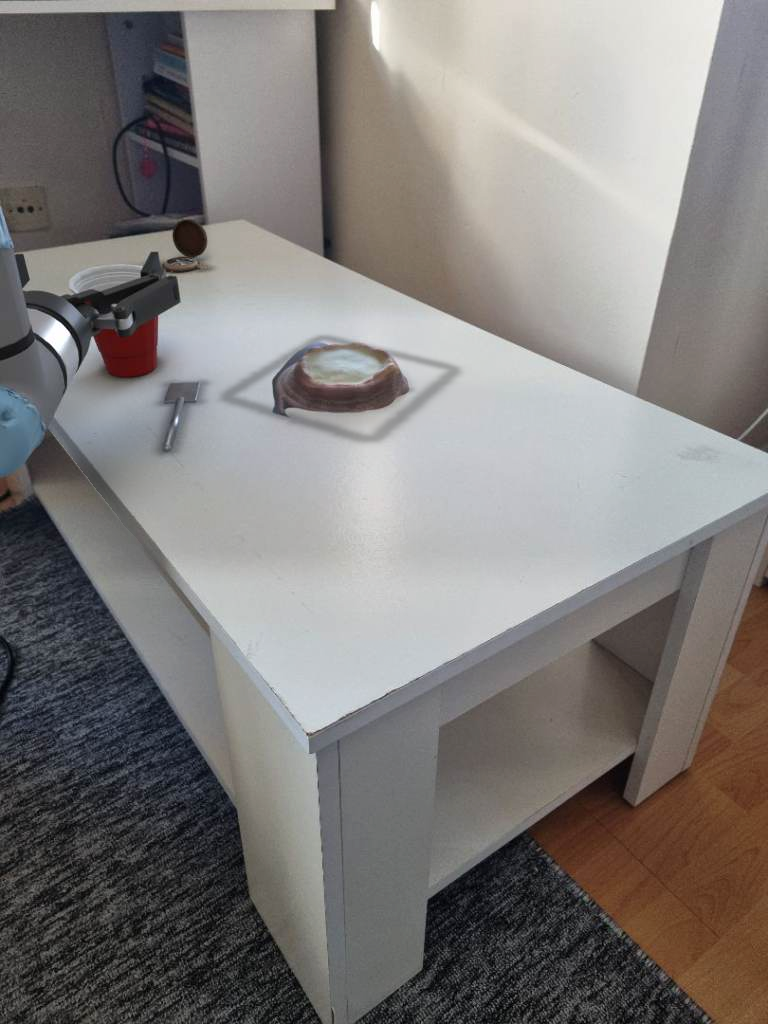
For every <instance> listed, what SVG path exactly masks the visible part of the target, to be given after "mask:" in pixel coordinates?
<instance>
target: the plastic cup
mask: <svg viewBox="0 0 768 1024" xmlns="http://www.w3.org/2000/svg"><path fill="white" fill-rule="evenodd" d="M143 266H144V265H137V264H126V263H123V264H121V263H120V264H105V265H99V266H95V267H89V268H86V269H84V270H81V271H79V272H77V273H75V274H74V275H73V276H72V277H71V278H70V279H69V280H68V287H69V290H70V292H71V293H73V295H74V294H77V293H80V292H83V291H86V290H89V289H94V290H97V291H103V290H106V289H109V288H112V287H115V286H117V285H120V284H123V283H126V282H129V281H132V280H135V279H138V278H141V274H140V272H141V270H142V268H143ZM86 303H87V304H89V305H90V306H91V303H90V301H87V302H86ZM92 338H93V339H94V342H95V344H96V348H97V350H98V352H99V353H100V356H101V358H102V360H103V363H104V365H105V368H106V370H107V372H108V373H109V374H110V375H111V376H113V377H117V378H121V379H131V378H139V377H143V376H146V375H149V374H150V373H152V372H154V371H155V369H156V368H157V366H158V346H159V315H158V316H156V317H155V318H153V319H151V320H150V321H148V322H146V323H144V324H143V325H141V326H139V327H138V328H136V330H135V331H134V332H133V334H132V335H131V336H129V337H126V338H121V337H118V334H117V331H116V329H101V331H100V332H99V333H98V334H96V335H94V336H93V337H92Z"/></svg>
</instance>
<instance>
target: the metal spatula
mask: <svg viewBox="0 0 768 1024" xmlns="http://www.w3.org/2000/svg"><path fill="white" fill-rule="evenodd" d="M200 388H201V381H197V382H196V381H193V382H192V381H191V382H170V383H169V386H168V389H167V392H166V395H165V398H164V401H163V402H164V404H174V407H173V410H172V414H171V416H170V417H171V418H170V421H169V425H168V428H167V430H166V431H167V432H166V435H165V438H164V442H163V445H162V449H161V450H162V452H165V453H168V452H169V453H170V452H171V451H173V448H174V444H175V440H176V437H177V434H178V433H177V432H178V429H179V425H180V421H181V417H182V414H183V410H184V407H185V404H192V403H193V404H195V403H197V400H198V397H199V394H200V393H199V392H200Z"/></svg>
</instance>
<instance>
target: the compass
mask: <svg viewBox="0 0 768 1024" xmlns="http://www.w3.org/2000/svg"><path fill="white" fill-rule="evenodd" d="M171 237H172V242H173V244H174V247H175V248H176V250H177V251H178V252H179V253H180V254H181V255H183V256H175V257H170V258H167V259H166V260H165V262H164V263H162V264H161V265H162V267H161V268H164V269H165V272H167V273H170V274H183V273H190V272H193V271H197V270H198V269H199V270H206V269H209V268H210V266H209V264H201V263H200V261H199V260H197V259H196V257H199V256H201V255H203V254H204V252H205V251H206V249H207V246H208V235H207V232H206V230H205V228H204V227H203V225H202V224H201V223H200V222H199V221H197V220H196V219H193V218H190V217H187V218H183V219H181V220H179V221H177V223H176V224H174V227H173V229H172V236H171ZM204 266H205V267H204Z"/></svg>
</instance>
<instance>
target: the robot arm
mask: <svg viewBox="0 0 768 1024" xmlns="http://www.w3.org/2000/svg"><path fill="white" fill-rule="evenodd" d="M14 248H15V246H14V243H13V240H12V238H11V236H10V232H9V228H8V225H7V222H6V220H5V216H4V213H3V210H2V206H1V205H0V479H2V478H5V477H7V476H10V475H12V474H14V473H15V472H17V471H18V470H19V469H20V468H22V467H23V465H24V464H25V463H26V462H27V461H28V459H29V457H30V456H31V455H32V453H33V452H34V451H35V449H37V448H39V446H40V445H41V444H42V442H43V440H44V436H45V434H46V432H47V430H48V428H49V425H50V424H51V422H52V419H53V418H54V416H55V414H56V412H57V410H58V408H59V406H60V404H61V402H62V400H63V398H64V396H65V394H66V392H67V391H68V389H69V387H70V385H71V383H72V382H73V379H74V377H75V375H76V374H77V372H78V371H79V369H80V367H81V366H82V364H83V362H84V360H85V358H86V356H87V354H88V351H89V349H90V346H91V341H92V338H94V337H93V336H94V335H96V334H98V333H99V332H100V331H101V329H116V331H117V334H118V337H121V338H126V337H129V336H131V335H132V334H133V332H134V331H135V330H136V328H138V327H139V326H141V325H143V324H144V323H146V322H148V321H150V320H151V319H153V318H155V317H156V316H158V317H159V316H160V315H161V314H164V313H165V312H167V311H169V310H170V309H172V308H174V307H176V306H177V305H180V304H181V302H182V301H181V294H180V286H179V279H178V276H177V275H172V274H171V275H168V276H167V273H166V272H167V271H165V269H164V268H163V267H161V260H160V259H161V258H160V254H159V251H151V252H149V255H148V257H147V258H146V261H145V263H144V264H143V265H142V266H143V268H142V270H141V272H140V274H141V278H138V279H135V280H132V281H129V282H126V283H123V284H120V285H117V286H115V287H112V288H109V289H106V290H103V291H97V290H94V289H89V290H86V291H83V292H80V293H77V294H74V293H73V294H69V293H65V294H62V295H58V294H55V293H53V292H49V291H45V290H35V289H34V290H24V288H25V286H26V285H27V284H28V283H29V282H30V280H31V279H30V275H29V270H28V266H27V262H26V259H25V255H24V253H15V249H14ZM87 301H90V303H91V306H90V305H89V304H87V303H86V302H87Z"/></svg>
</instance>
